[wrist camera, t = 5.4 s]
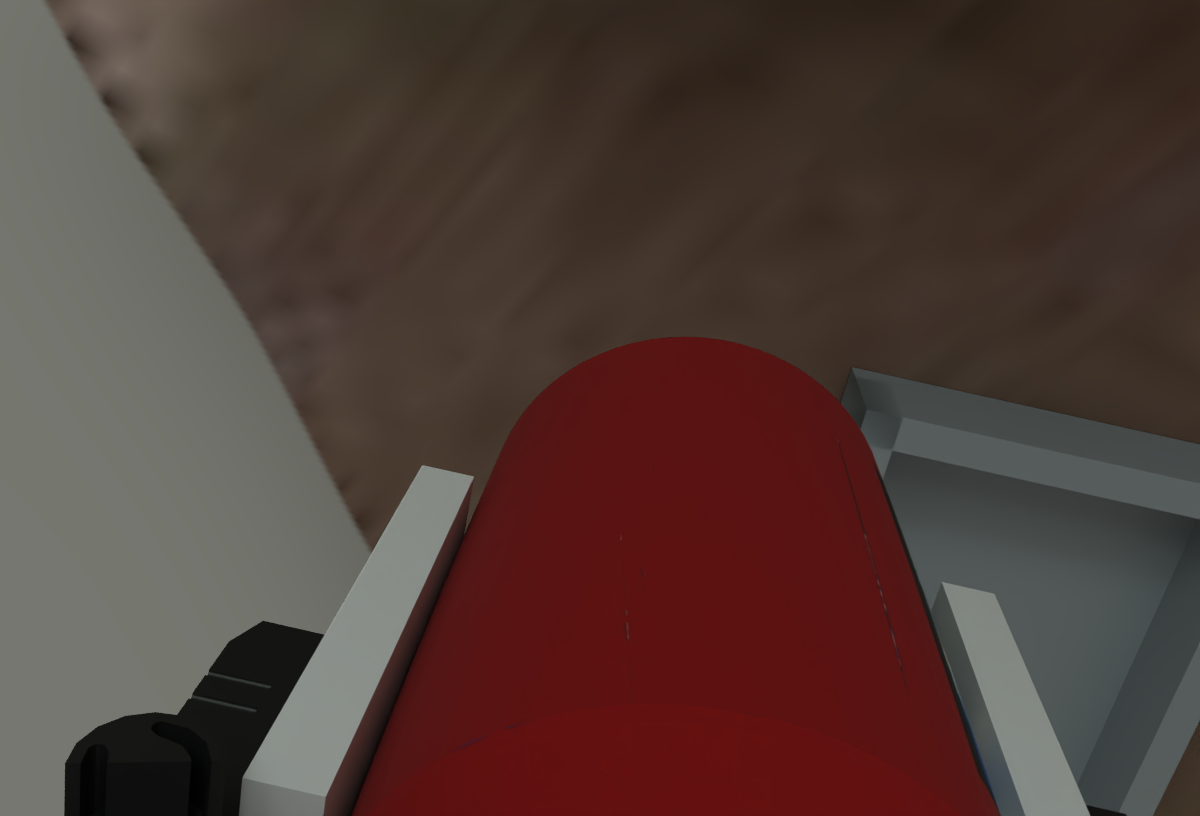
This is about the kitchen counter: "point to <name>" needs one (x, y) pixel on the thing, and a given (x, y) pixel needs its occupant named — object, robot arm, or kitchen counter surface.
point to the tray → (1060, 562)
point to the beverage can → (681, 615)
